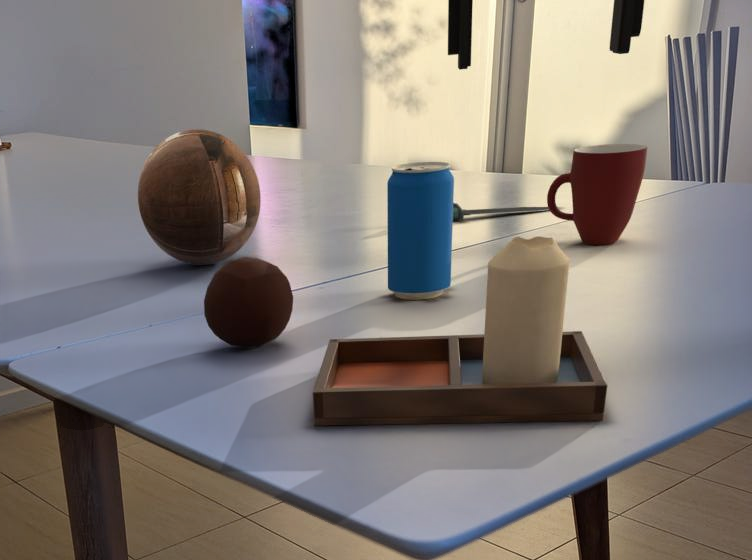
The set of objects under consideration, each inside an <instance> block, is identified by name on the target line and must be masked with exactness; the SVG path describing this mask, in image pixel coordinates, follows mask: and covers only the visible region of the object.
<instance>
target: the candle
mask: <svg viewBox="0 0 752 560" xmlns="http://www.w3.org/2000/svg"><path fill="white" fill-rule="evenodd" d="M570 262H571V261H570V259H569V257H568V256H567V255H566V254H565V253H564V251H563V250H562V249H561V248H560V247H559V245H558V244H557V242H556V241H555V239H554V238H553V237H545V236H533V237H532V238H531V237H530V238H529V239H528V238H524V237H521V236H515V237H513V238H512V239H511V240H510V241H509V242H508V243H507V244H506V245H505V246H504V247H503V248H502V249H500V250H499V251H497V253H495V255H493V256H492V258H490V260H489V261H488V263H487V278H486V280H487V281H486V298H485V317H484V352H483V374H482V379H483V383H484V384H524V383H556V382H557V378H558V372H559V363H560V353H561V343H562V333H563V332H564V324H565V323H564V322H565V311H566V302H567V292H568V283H569V271H570Z"/></svg>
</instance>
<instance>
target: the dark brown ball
mask: <svg viewBox="0 0 752 560" xmlns="http://www.w3.org/2000/svg"><path fill="white" fill-rule="evenodd" d="M292 290H293V289H292V287H291V283H290V281H289V279H288V277H287V275H286V274H285V273H284V272H283V271H282V270H281V269H280V268H279V267H278V265H275V264H273V263H271V262H268V261H266V260H263V259H261V258H258V257H252V256H241V257H237V258H234V259H232V260H230V261H226V263H224V264H223V265H222V266H221V267H220V268H219V269H218V270H217V271H216V272H215V273H214V274H213V276H212V278H211V279H210V282H209V284H208V285H207V287H206V291H205V295H204V298H203V308H204V309H203V314H204V318H205V320H206V324H207V326H208V328H209V329H210V330H211V332H212V333H213V334H214V335H215V337H217V338H218V339H219V340H221V341H223V342H224V343H226V344H227V345H229V346H232V347H237V348H244V349H254V348H260V347H262V346H265V345H267V344H269V343H270V342H272V341H274V340H277V338H278V337H280V335H282V333H283V332H284V331H285V330H286V328H287V326H288V324H289V322H290V320H291V317H292V312H293V310H294V294H293V291H292Z"/></svg>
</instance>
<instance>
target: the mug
mask: <svg viewBox="0 0 752 560" xmlns="http://www.w3.org/2000/svg"><path fill="white" fill-rule="evenodd" d="M647 154H648V146H647V145H644V144H639V143H636V144H635V143H612V144H611V143H610V144H597V145H587V146H581V147H577V148H575V149H573V153H572V159H571V167H570V172H567V173H566V172H565V173H563V174H560V175H558V176H557V177H556V178H554V180H553V181H552V183H551V184H550V186H549V188H548V191H547V196H546V204H547V207H548V208H549V210H548V211H549V212H550V213H551V214H552V215H553V216H554V217H556V218H557V219H560V220H564V221H570V222H571V221H572V222H573V224H574V225H575V228H576V230H577V233H578V235H579V237H580V240H581V242H582V243H583V244H585V245H592V246H605V245H610V244H612V245H613V244H615V243H617V242H618V240H619V239H620V237H621V236H622V234H623V232H624V231H625V229H626V228H627V226H628V224H629V223H630V220H631V218H632V215H633V212H634V209H635V206H636V202H637V199H638V195H639V192H640V188H641V186H642V182H643V179H644V176H645V175H644V174H645V170H646V163H647V156H648V155H647ZM564 184H570V188H571V199H572V200H571V201H572V213H569V212H564V211H562V210H560V209H559V208H557V207H558V206H557V203H556V196H557V192H558V190H559V188H560V187H561V186H562V185H564Z"/></svg>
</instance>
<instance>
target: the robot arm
mask: <svg viewBox="0 0 752 560" xmlns="http://www.w3.org/2000/svg"><path fill="white" fill-rule="evenodd" d="M473 1H474V0H448V1H447V2H448V5H447V7H448V8H447V11H448V12H447V56H455V55H456V56H457V68H458V70H460V71H461V70H468V68H469V67H472V40H473V39H472V38H473V37H472V36H473V5H474V3H473ZM612 8H613V9H612V17H611V18H612V19H611V27H610V28H611V29H610V39H609V52H612V54H618V55H624V54H629V53H630V50H631V41H632V38H636V37H637V38H638V37H640V35H641V31H642V27H643V17H644V8H645V0H613V7H612Z"/></svg>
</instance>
